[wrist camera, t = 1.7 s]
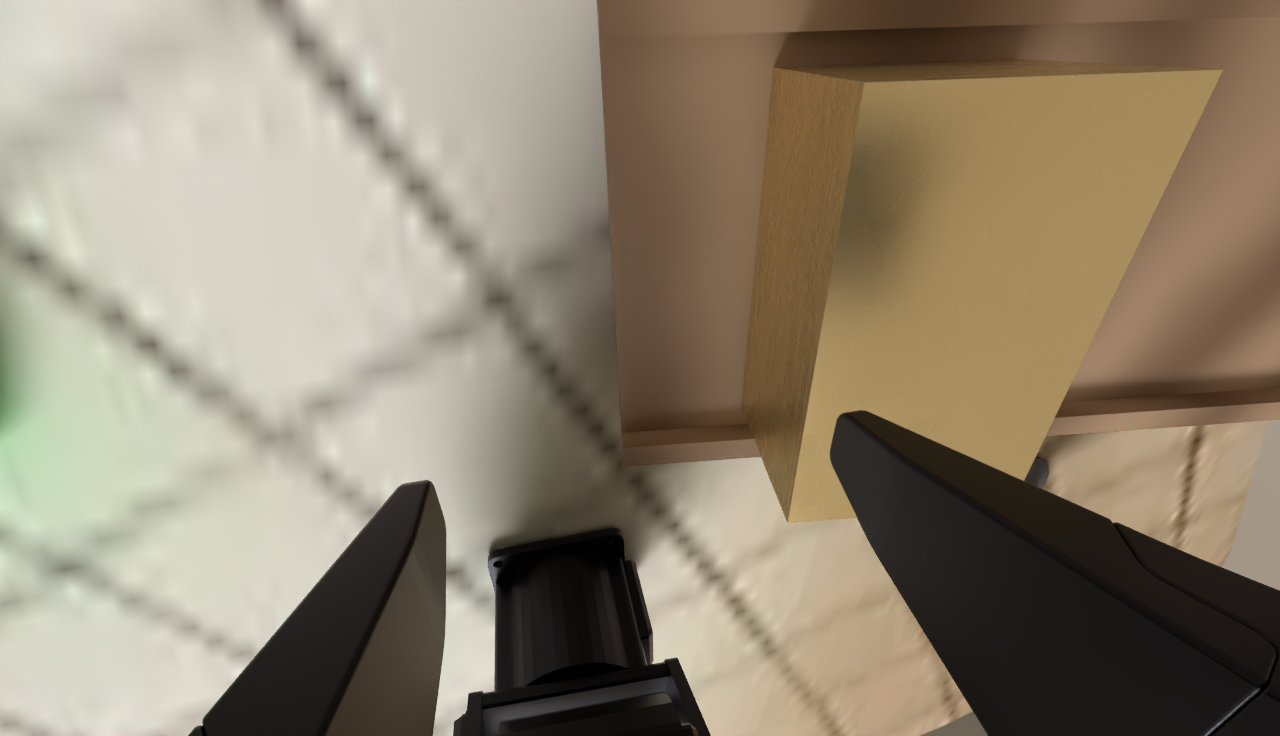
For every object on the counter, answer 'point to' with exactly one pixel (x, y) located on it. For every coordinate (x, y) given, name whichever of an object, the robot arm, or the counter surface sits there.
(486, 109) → the counter surface
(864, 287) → the tan wood-grain block
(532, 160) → the counter surface
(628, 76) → the wooden tray
